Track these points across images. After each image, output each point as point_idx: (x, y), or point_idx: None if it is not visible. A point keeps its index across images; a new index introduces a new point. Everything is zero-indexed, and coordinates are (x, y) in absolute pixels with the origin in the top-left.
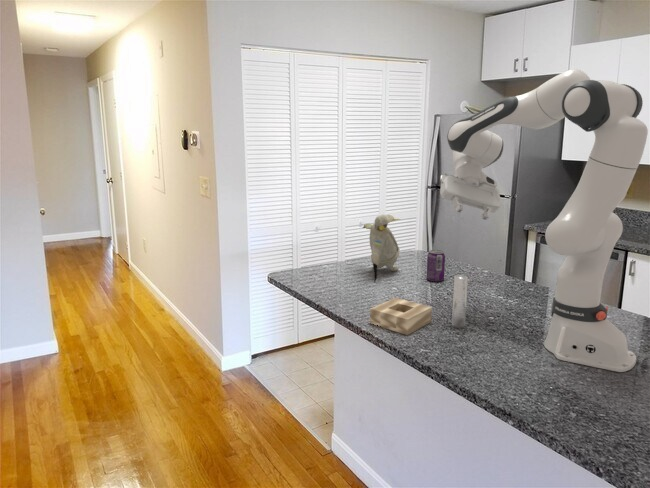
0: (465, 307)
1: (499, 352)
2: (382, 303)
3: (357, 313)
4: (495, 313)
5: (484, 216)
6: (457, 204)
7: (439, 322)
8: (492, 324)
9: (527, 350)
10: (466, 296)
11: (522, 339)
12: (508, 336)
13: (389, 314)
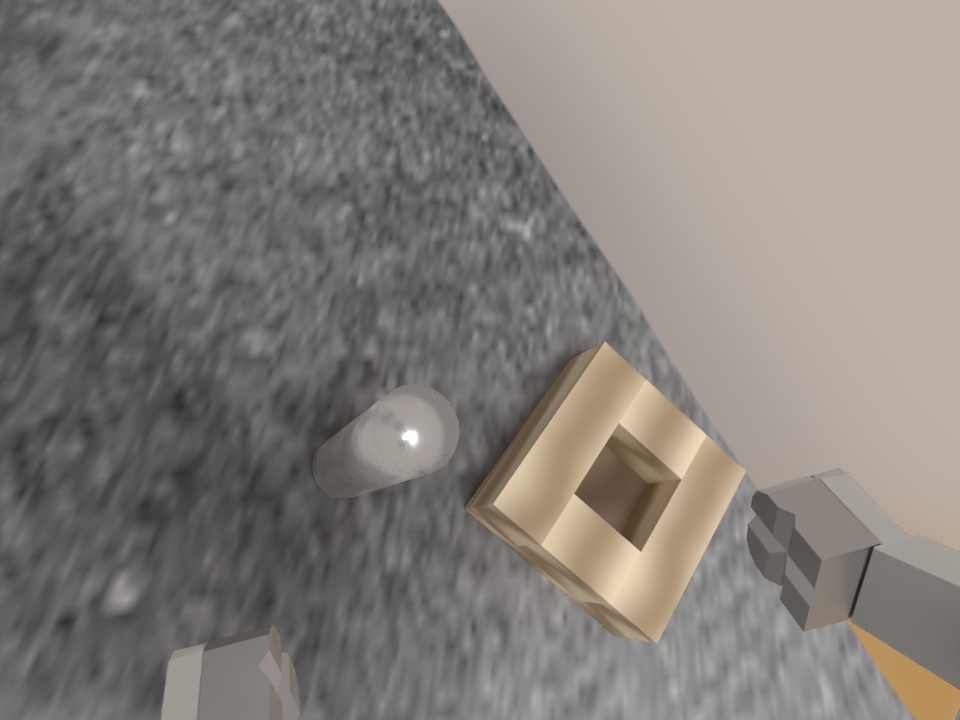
0: (337, 434)
1: (238, 177)
2: (706, 543)
3: (754, 592)
4: (64, 673)
5: (277, 643)
6: (914, 545)
7: (426, 502)
8: (154, 486)
9: (98, 180)
10: (347, 430)
11: (65, 292)
12: (126, 330)
13: (671, 403)
